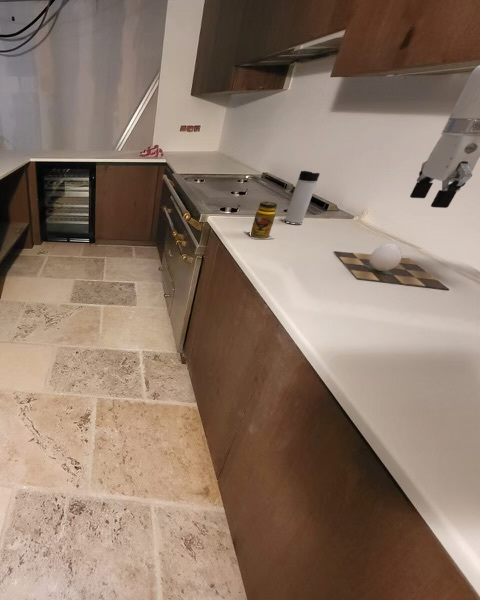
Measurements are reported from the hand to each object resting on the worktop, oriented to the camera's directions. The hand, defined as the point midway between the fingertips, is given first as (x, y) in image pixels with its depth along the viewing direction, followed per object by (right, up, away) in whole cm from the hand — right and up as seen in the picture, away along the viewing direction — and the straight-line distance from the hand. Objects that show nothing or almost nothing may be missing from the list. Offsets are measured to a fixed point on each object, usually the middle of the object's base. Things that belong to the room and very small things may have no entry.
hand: (427, 202), depth 83 cm
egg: (-4, -17, +9) cm, 20 cm away
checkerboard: (-1, -16, +10) cm, 19 cm away
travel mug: (-4, +6, +47) cm, 48 cm away
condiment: (-24, -2, +35) cm, 43 cm away
